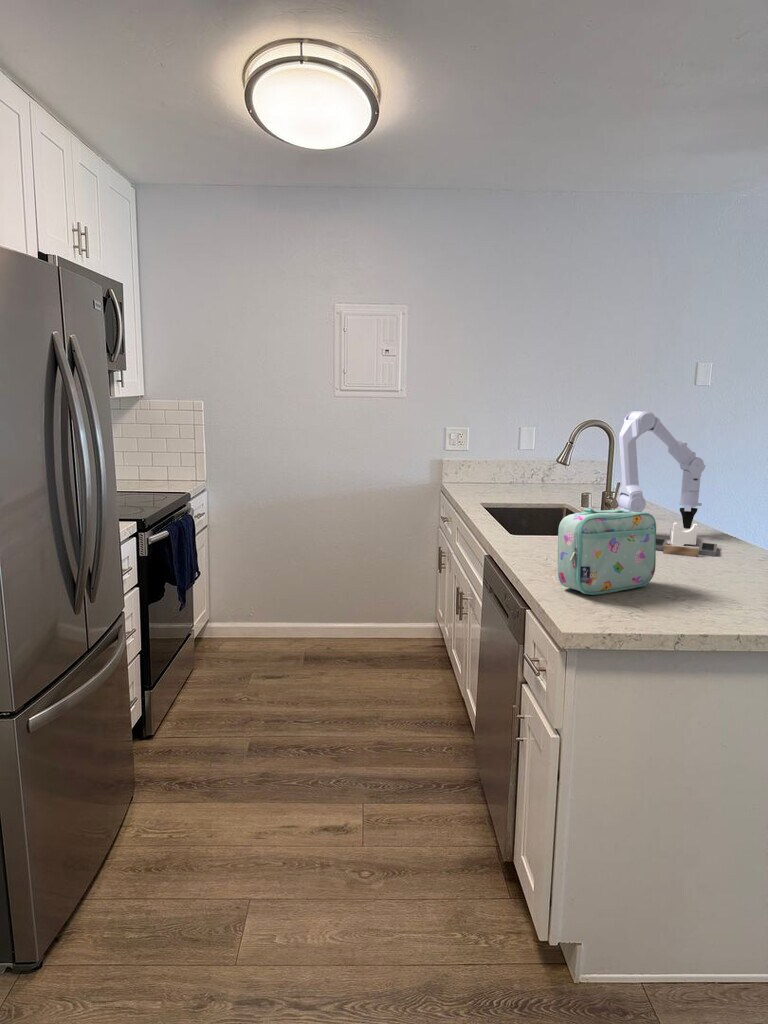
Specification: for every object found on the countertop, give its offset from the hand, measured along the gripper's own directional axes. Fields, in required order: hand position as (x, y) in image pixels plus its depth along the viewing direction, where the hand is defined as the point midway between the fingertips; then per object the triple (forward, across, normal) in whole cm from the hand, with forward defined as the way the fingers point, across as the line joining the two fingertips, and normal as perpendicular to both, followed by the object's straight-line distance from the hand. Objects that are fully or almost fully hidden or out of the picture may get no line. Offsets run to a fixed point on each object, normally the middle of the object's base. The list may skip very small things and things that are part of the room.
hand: (686, 528), depth 237 cm
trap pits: (+3, -22, 0) cm, 22 cm away
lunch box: (+3, -81, +15) cm, 82 cm away
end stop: (+3, -31, 0) cm, 31 cm away
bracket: (+3, -10, +1) cm, 11 cm away
